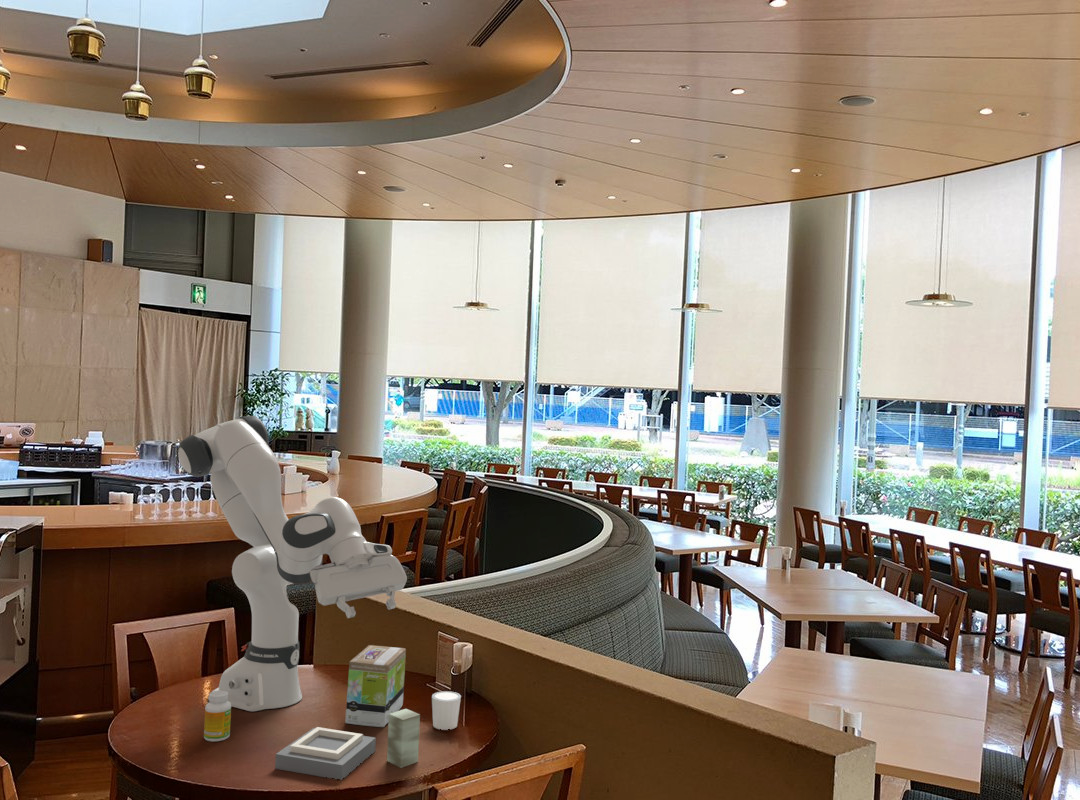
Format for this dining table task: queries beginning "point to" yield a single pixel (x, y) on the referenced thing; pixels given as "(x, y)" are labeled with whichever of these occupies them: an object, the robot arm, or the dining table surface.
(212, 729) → the supplement bottle
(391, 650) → the tea box
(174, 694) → the dining table surface
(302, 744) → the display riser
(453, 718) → the white cup
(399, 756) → the green block
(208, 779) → the dining table surface
